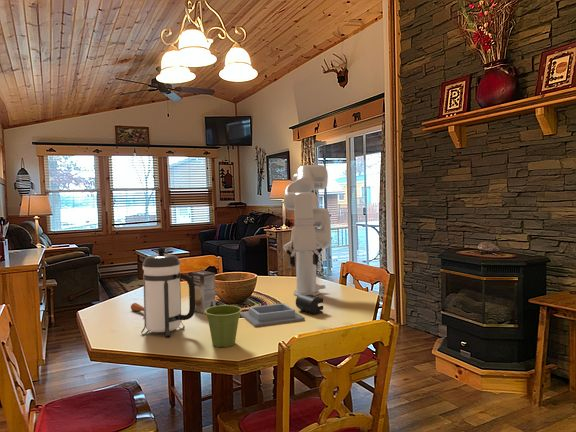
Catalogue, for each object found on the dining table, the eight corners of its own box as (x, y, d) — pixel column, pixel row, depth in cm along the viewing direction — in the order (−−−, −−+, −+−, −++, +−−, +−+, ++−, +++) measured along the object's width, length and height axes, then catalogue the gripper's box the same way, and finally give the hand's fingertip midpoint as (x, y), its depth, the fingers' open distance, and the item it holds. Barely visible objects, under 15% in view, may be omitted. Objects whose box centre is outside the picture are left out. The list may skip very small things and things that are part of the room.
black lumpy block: (295, 311, 180) (295, 294, 180) (308, 308, 184) (308, 292, 184) (310, 316, 172) (310, 299, 172) (324, 313, 176) (324, 296, 176)
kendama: (142, 299, 186) (163, 304, 171) (140, 314, 185) (161, 320, 171) (128, 299, 182) (149, 304, 167) (126, 314, 181) (147, 320, 167)
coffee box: (190, 310, 183) (190, 272, 182) (203, 307, 187) (202, 270, 187) (203, 314, 176) (203, 274, 176) (216, 311, 181) (215, 272, 180)
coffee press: (143, 342, 143) (141, 251, 142) (139, 328, 158) (137, 246, 156) (196, 335, 150) (194, 248, 148) (187, 322, 165) (185, 243, 163)
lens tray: (286, 309, 183) (286, 301, 182) (304, 320, 166) (304, 311, 166) (240, 314, 175) (240, 306, 175) (254, 327, 158) (254, 317, 158)
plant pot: (198, 348, 137) (197, 312, 136) (217, 336, 148) (216, 303, 148) (231, 352, 133) (230, 316, 132) (248, 340, 144) (248, 306, 143)
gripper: (319, 222, 182) (320, 262, 183) (280, 223, 176) (280, 265, 177) (327, 223, 175) (327, 265, 175) (286, 224, 169) (286, 268, 170)
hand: (304, 265), depth 176 cm, fingers open, 9 cm apart
